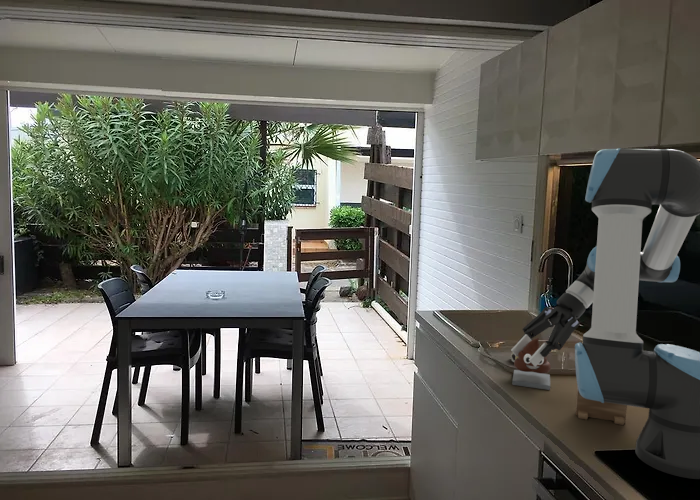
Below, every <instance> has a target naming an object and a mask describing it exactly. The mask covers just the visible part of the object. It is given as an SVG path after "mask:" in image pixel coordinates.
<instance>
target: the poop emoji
mask: <svg viewBox="0 0 700 500" xmlns="http://www.w3.org/2000/svg"><path fill="white" fill-rule="evenodd" d="M539 339H540V338H539V337H535V338H533V340H532V341H530V342H529V343H528V344H527V345H526V346H525V347H524V348H523V351H520V352H519V354H518V358H517V359H516V360H515V361H514V362H513V366H514V367H515V370H520V371H524V372H535V373H542V374H548V373H549V372H550V371H551V369H552V366H551V363H550V362H549V361H548V357H547V356H546V357H544V358H543V359H542V360H541V362H540V363H539V364H538V365H537V366H536V367H535V366H534V365H533V364H532V363H531V362H530V361H529V359H530V358H531V356H532V355H533V354H534V353H535V352H536V351H537V350H538V349H539V348H540V347H541V346H540V345H541V343H540V341H539Z"/></svg>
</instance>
